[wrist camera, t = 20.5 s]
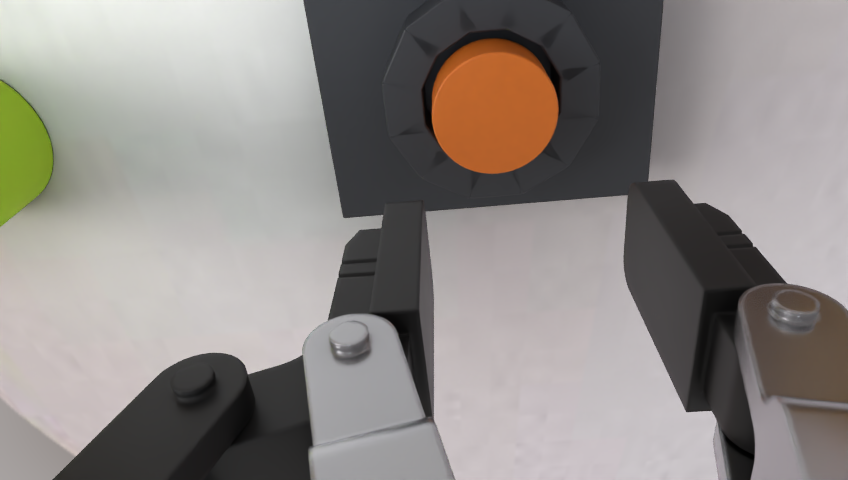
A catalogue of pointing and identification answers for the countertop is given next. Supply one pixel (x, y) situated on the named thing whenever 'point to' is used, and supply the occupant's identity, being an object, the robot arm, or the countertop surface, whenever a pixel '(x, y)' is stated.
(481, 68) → the bell button
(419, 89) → the box
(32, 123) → the soap dispenser
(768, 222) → the countertop surface
